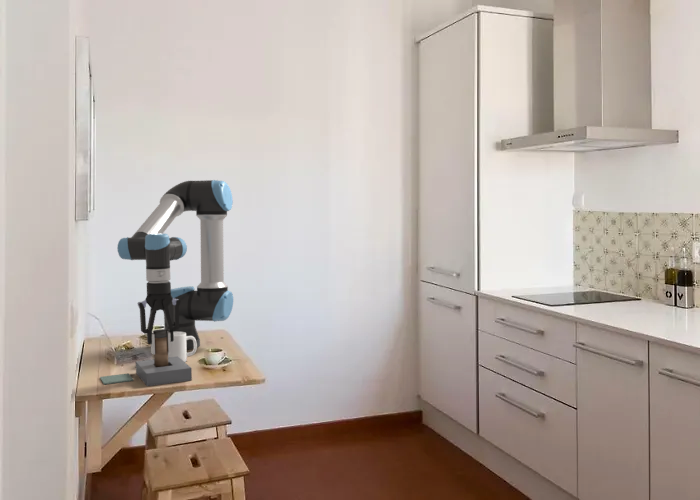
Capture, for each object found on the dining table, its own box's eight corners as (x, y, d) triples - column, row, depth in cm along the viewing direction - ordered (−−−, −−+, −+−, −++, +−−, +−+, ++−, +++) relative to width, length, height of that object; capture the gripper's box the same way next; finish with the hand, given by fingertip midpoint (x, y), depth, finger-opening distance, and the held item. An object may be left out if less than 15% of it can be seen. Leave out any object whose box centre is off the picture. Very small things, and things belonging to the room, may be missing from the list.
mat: (100, 378, 222) (99, 376, 222) (128, 374, 227) (128, 373, 226) (104, 384, 214) (104, 383, 214) (133, 380, 219) (133, 379, 219)
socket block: (136, 373, 228) (135, 361, 228) (178, 367, 235) (177, 356, 234) (147, 386, 212) (146, 373, 212) (191, 380, 219) (191, 367, 218)
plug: (153, 369, 224) (151, 330, 223) (166, 367, 226) (165, 328, 225) (156, 372, 220) (154, 332, 219) (169, 370, 222) (168, 331, 221)
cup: (161, 360, 245) (160, 332, 245) (195, 357, 250) (194, 329, 249) (164, 365, 238) (163, 337, 237) (199, 362, 242) (198, 334, 242)
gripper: (132, 284, 213) (135, 358, 215) (188, 280, 221) (190, 351, 223) (128, 282, 220) (131, 353, 222) (182, 278, 228) (184, 347, 230)
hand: (160, 352), depth 223 cm, fingers closed on plug, 4 cm apart
